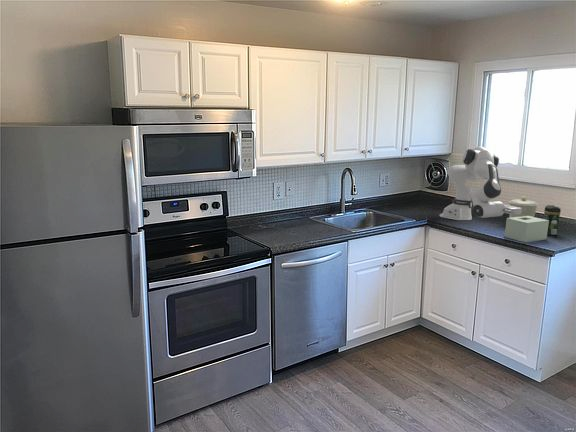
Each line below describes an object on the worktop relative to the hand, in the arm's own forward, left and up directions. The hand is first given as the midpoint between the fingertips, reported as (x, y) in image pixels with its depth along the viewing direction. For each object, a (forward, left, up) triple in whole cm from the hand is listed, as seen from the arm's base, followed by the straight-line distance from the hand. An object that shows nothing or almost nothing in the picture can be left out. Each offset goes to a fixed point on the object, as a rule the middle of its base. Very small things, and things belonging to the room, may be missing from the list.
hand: (512, 207), depth 278 cm
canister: (-2, +44, -20) cm, 48 cm away
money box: (+7, +10, -20) cm, 23 cm away
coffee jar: (+17, +34, -20) cm, 43 cm away
